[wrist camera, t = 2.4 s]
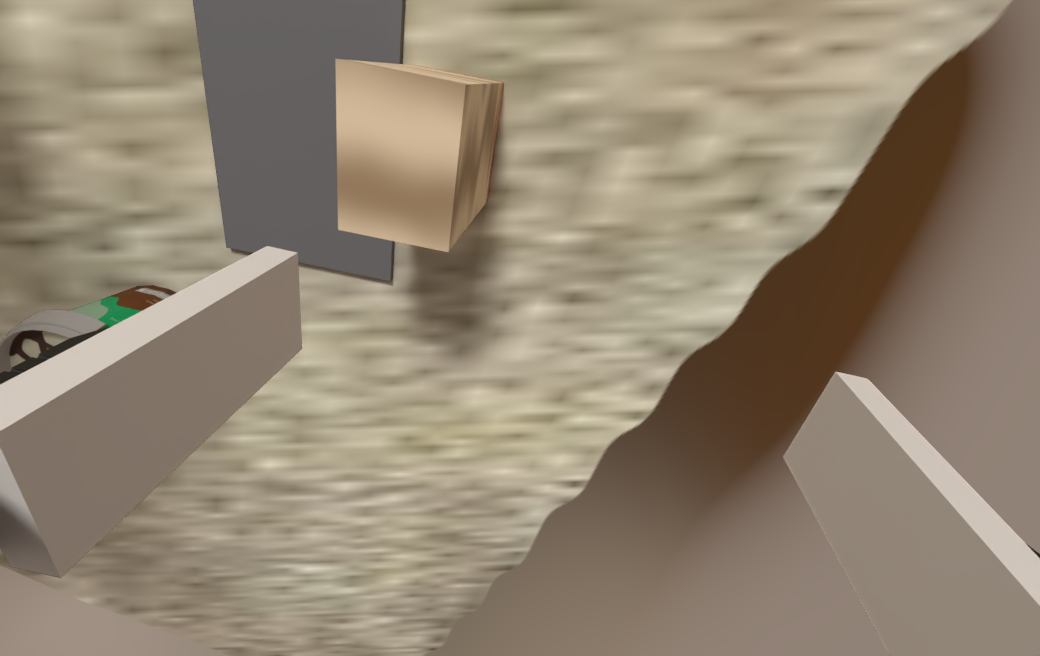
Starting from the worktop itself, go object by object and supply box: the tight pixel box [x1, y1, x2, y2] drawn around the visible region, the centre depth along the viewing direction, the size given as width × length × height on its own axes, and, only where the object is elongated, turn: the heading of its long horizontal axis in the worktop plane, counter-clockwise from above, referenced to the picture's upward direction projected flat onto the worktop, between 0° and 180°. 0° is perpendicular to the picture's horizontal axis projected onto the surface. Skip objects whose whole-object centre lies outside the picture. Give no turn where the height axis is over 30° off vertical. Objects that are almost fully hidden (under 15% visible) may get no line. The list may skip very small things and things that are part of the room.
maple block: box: [335, 59, 504, 252], centre depth 28 cm, size 8×6×12 cm
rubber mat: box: [193, 0, 405, 281], centre depth 33 cm, size 24×14×1 cm, turn 170°
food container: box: [0, 285, 176, 373], centre depth 40 cm, size 12×6×10 cm, turn 147°
